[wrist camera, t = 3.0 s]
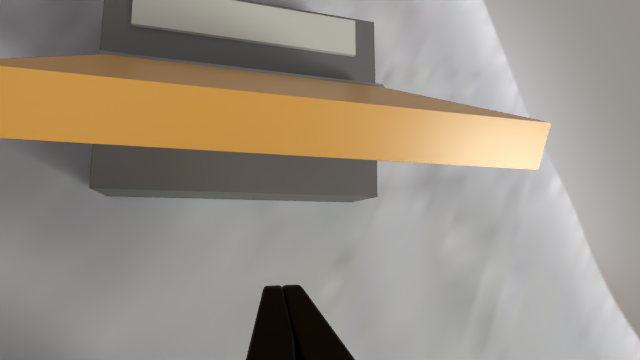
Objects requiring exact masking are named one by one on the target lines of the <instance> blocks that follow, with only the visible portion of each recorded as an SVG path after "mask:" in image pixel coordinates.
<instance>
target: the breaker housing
mask: <svg viewBox="0 0 640 360" xmlns="http://www.w3.org/2000/svg"><path fill="white" fill-rule="evenodd" d="M100 50H102V51H110V52H119V53H127V54H135V55H143V56H152V57H160V58H168V59H177V60H185V61H193V62H202V63H210V64H218V65H227V66H235V67H243V68H251V69H260V70H268V71H276V72H285V73H293V74H301V75H310V76H318V77H326V78H335V79H343V80H351V81H359V82H368V83H375V56H374V22H369V21H363V20H357V19H351V18H345V17H339V16H334V15H328V14H322V13H316V12H310V11H304V10H298V9H292V8H286V7H280V6H274V5H268V4H263V3H257V2H251V1H245V0H104V9H103V21H102V34H101V46H100ZM89 188H90V189H92V190H95V191H97V192H99V193H102V194H104V195H106V196H124V197H164V198H204V199H244V200H284V201H324V202H355V201H360V200H364V199H369V198H374V197H377V160H364V159H347V158H330V157H313V156H296V155H279V154H262V153H245V152H228V151H211V150H194V149H177V148H160V147H143V146H126V145H109V144H93V147H92V160H91V173H90V185H89Z"/></svg>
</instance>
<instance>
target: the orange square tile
mask: <svg viewBox="0 0 640 360" xmlns="http://www.w3.org/2000/svg"><path fill="white" fill-rule="evenodd" d="M550 126H551V123H550V122H544V121H540V120H535V119H531V118H526V117H521V116H516V115H512V114H507V113H502V112H497V111H493V110H488V109H483V108H478V107H474V106H469V105H464V104H459V103H455V102H450V101H445V100H440V99H436V98H431V97H426V96H421V95H417V94H412V93H407V92H402V91H398V90H393V89H388V88H385V87H384V86H383V85H382V84H376V83H368V82H359V81H351V80H343V79H335V78H326V77H318V76H310V75H301V74H293V73H285V72H276V71H268V70H260V69H251V68H243V67H235V66H227V65H218V64H210V63H202V62H193V61H185V60H177V59H168V58H160V57H152V56H143V55H135V54H127V53H119V52H110V51H102V50H100V51H99V52H98V55H77V56H55V57H32V58H9V59H0V138H8V139H25V140H41V141H58V142H75V143H92V144H109V145H126V146H143V147H160V148H177V149H194V150H211V151H228V152H245V153H262V154H279V155H296V156H313V157H330V158H347V159H364V160H381V161H398V162H414V163H431V164H448V165H465V166H482V167H499V168H516V169H533V170H538V168H539V164H540V161H541V157H542V154H543V150H544V147H545V143H546V140H547V136H548V132H549V129H550Z"/></svg>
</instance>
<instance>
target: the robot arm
mask: <svg viewBox="0 0 640 360" xmlns="http://www.w3.org/2000/svg"><path fill="white" fill-rule="evenodd" d="M246 360H355V359H354V358H353V356H352V355H351V354H350V352H349V351H348V350H347V348H346V347H345V345H344V344H343V343H342V341H341V340H340V339H339V337H338V336H337V335H336V333H335V332H334V330H333V329H332V328H331V326H330V325H329V324H328V322H327V321H326V319H325V318H324V317H323V315H322V314H321V313H320V311H319V310H318V309H317V307H316V306H315V304H314V303H313V302H312V300H311V299H310V298H309V296H308V295H307V293H306V292H305V291H304V289H303V288H302V287H301V286H300V285H284V286H283V287H281V286H279V285H277V286H265V287H264V289H263V292H262V297H261V301H260V305H259V309H258V313H257V317H256V321H255V325H254V329H253V333H252V337H251V341H250V346H249V350H248V354H247V358H246Z"/></svg>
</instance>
